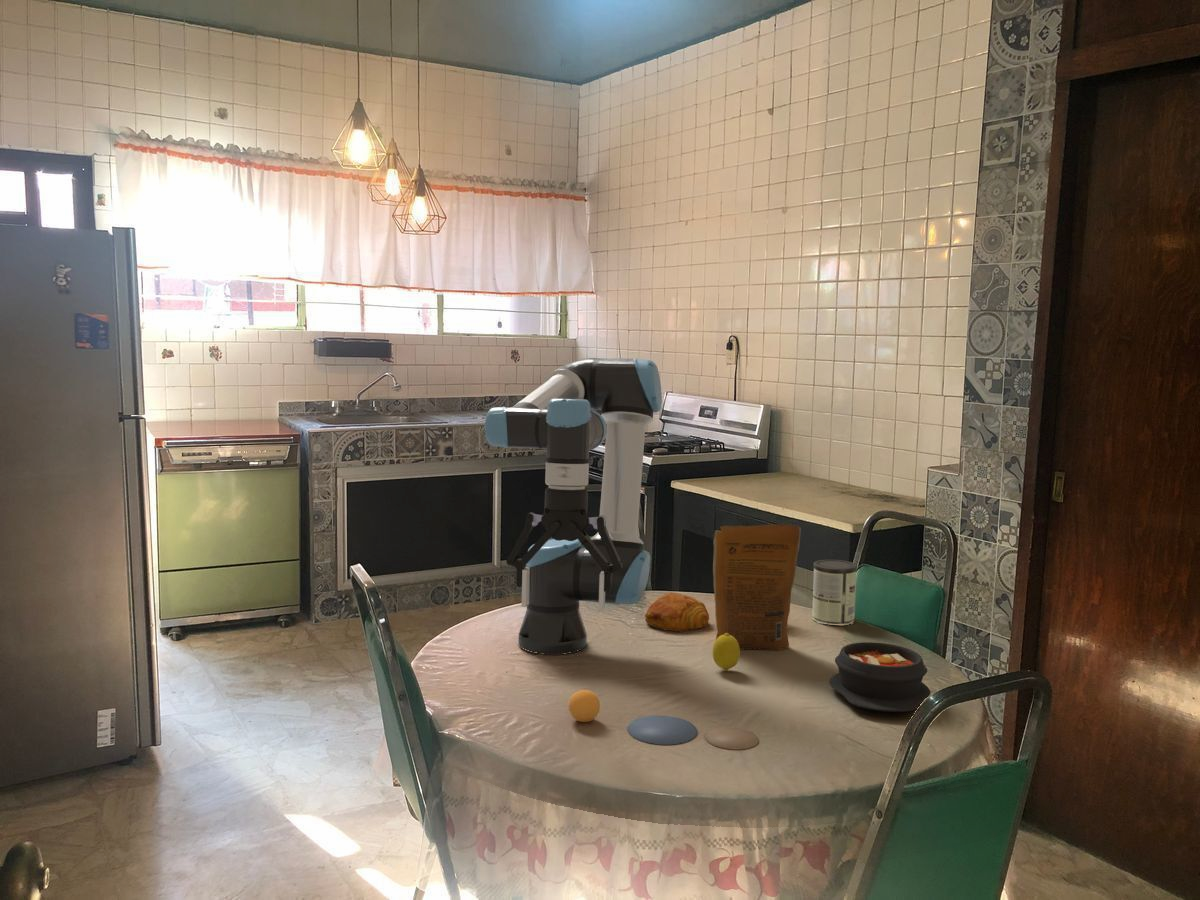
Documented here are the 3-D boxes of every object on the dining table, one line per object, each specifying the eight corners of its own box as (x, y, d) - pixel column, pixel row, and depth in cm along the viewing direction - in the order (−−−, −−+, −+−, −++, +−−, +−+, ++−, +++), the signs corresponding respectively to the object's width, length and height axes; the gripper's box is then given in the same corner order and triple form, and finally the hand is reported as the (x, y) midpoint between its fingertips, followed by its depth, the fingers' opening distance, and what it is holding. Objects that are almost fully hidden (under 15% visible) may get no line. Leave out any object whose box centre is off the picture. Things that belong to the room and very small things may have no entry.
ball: (564, 725, 162) (565, 694, 162) (573, 713, 167) (573, 683, 167) (595, 728, 161) (595, 698, 160) (603, 716, 166) (603, 687, 166)
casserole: (937, 726, 164) (940, 681, 163) (829, 715, 169) (831, 670, 168) (923, 678, 189) (925, 638, 188) (828, 669, 193) (830, 630, 192)
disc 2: (701, 746, 155) (701, 744, 155) (709, 725, 163) (709, 723, 163) (756, 752, 152) (756, 751, 152) (760, 731, 161) (760, 730, 161)
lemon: (738, 676, 188) (739, 638, 187) (710, 674, 189) (712, 636, 188) (739, 667, 193) (741, 630, 192) (713, 665, 194) (714, 628, 193)
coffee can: (813, 612, 234) (815, 557, 233) (855, 617, 231) (858, 561, 230) (808, 623, 225) (811, 566, 223) (852, 628, 221) (855, 570, 220)
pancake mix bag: (798, 653, 202) (803, 527, 199) (710, 650, 203) (714, 524, 200) (793, 644, 209) (798, 521, 206) (708, 641, 210) (712, 519, 207)
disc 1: (620, 740, 156) (620, 738, 156) (635, 713, 168) (635, 712, 168) (691, 748, 153) (691, 747, 153) (701, 720, 165) (701, 719, 165)
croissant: (672, 620, 234) (670, 588, 234) (719, 625, 222) (717, 592, 222) (631, 629, 224) (629, 596, 224) (678, 636, 213) (676, 601, 213)
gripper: (491, 486, 160) (488, 608, 161) (636, 492, 157) (632, 616, 158) (501, 482, 167) (498, 599, 169) (639, 488, 164) (635, 607, 165)
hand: (563, 607), depth 163 cm, fingers open, 13 cm apart
